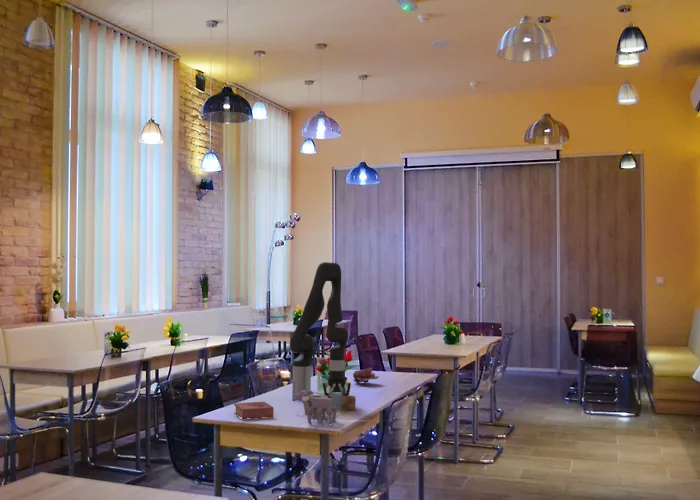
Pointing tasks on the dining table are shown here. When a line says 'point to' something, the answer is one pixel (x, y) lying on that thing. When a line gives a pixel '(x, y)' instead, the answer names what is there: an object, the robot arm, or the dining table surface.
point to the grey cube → (336, 398)
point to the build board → (344, 411)
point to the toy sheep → (317, 406)
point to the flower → (364, 375)
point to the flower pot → (311, 406)
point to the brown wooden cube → (348, 403)
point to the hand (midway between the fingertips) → (336, 404)
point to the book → (254, 410)
